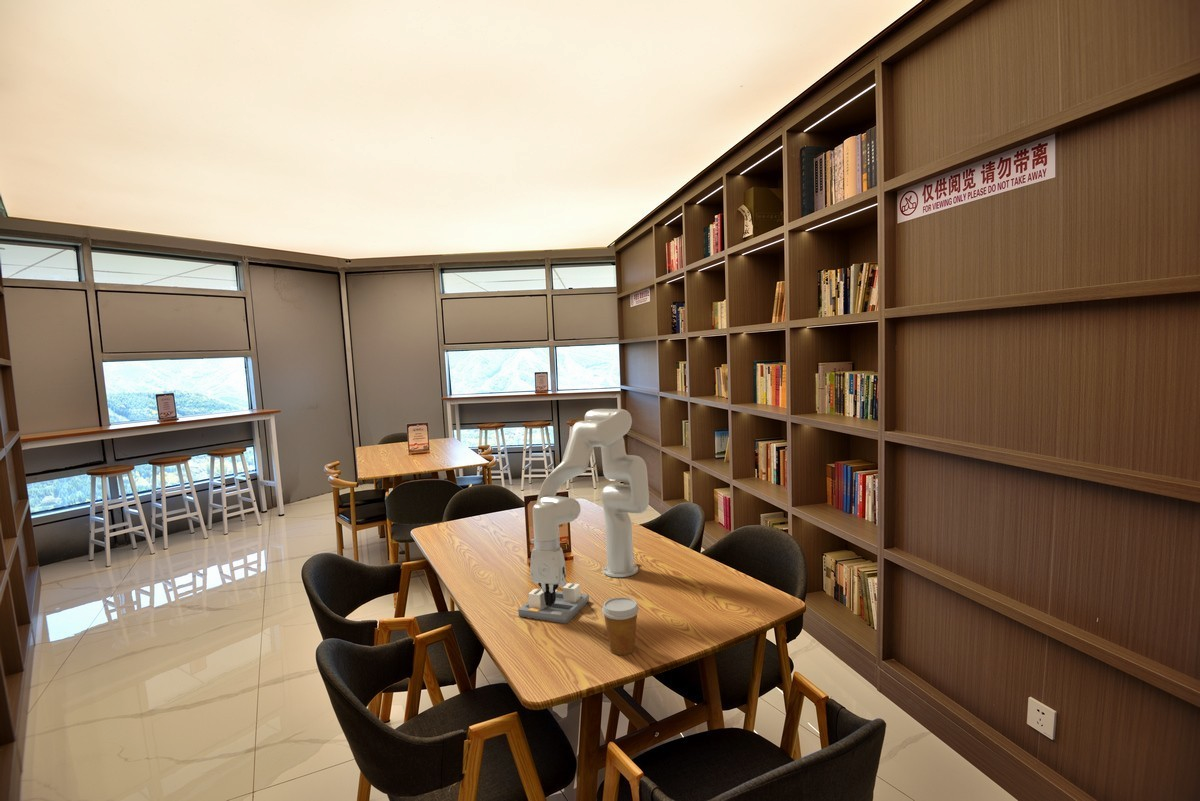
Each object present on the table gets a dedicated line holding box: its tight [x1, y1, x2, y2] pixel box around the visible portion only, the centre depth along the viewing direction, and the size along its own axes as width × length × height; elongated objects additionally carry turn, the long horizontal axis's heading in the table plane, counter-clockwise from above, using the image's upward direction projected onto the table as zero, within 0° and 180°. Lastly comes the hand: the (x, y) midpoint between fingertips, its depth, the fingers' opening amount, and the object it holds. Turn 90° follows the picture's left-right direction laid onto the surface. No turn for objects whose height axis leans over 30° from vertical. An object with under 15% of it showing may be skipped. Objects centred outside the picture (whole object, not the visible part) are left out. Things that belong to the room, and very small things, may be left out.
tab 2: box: [562, 582, 581, 603], centre depth 170 cm, size 4×4×5 cm
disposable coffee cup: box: [601, 596, 640, 656], centre depth 142 cm, size 10×10×12 cm
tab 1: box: [527, 588, 547, 610], centre depth 167 cm, size 4×4×5 cm
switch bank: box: [517, 589, 590, 624], centre depth 169 cm, size 16×16×2 cm
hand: (550, 603), depth 166 cm, fingers closed
